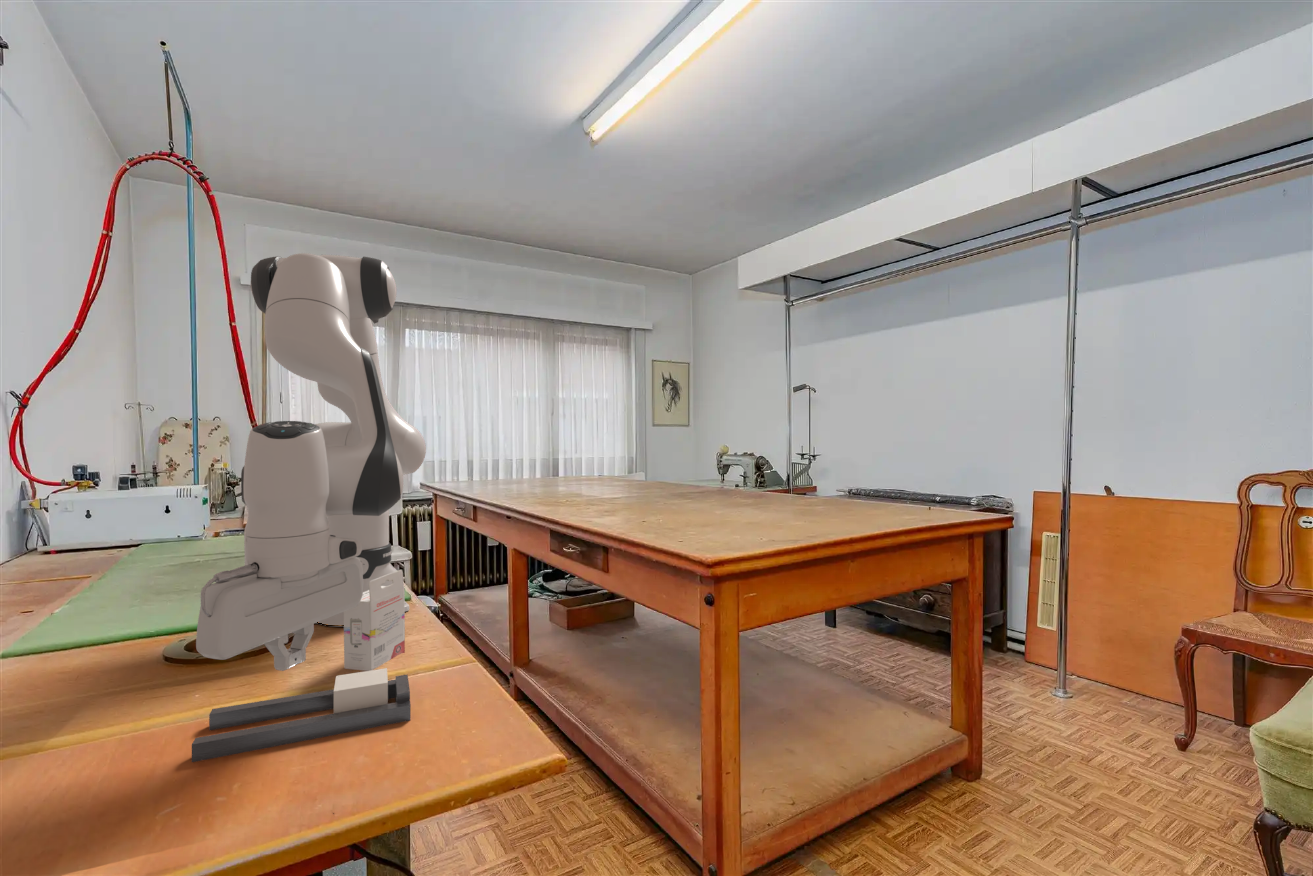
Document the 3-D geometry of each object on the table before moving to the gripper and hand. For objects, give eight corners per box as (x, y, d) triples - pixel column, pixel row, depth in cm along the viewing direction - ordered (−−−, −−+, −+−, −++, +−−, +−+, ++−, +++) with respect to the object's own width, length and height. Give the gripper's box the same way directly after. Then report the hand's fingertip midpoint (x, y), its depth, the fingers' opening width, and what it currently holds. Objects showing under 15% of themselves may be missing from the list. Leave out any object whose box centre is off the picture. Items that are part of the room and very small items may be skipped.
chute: (212, 733, 72) (212, 701, 71) (406, 698, 81) (407, 670, 81) (191, 771, 63) (191, 735, 63) (410, 728, 73) (410, 696, 73)
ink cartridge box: (379, 654, 97) (379, 566, 97) (405, 657, 96) (406, 568, 96) (341, 675, 89) (342, 579, 89) (370, 678, 88) (370, 581, 88)
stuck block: (335, 709, 76) (336, 675, 76) (386, 700, 78) (387, 668, 78) (333, 727, 71) (333, 691, 71) (387, 717, 74) (387, 682, 74)
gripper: (224, 579, 60) (226, 710, 61) (371, 539, 80) (372, 638, 81) (179, 574, 62) (182, 701, 63) (334, 536, 82) (335, 633, 82)
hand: (290, 665), depth 72 cm, fingers closed
